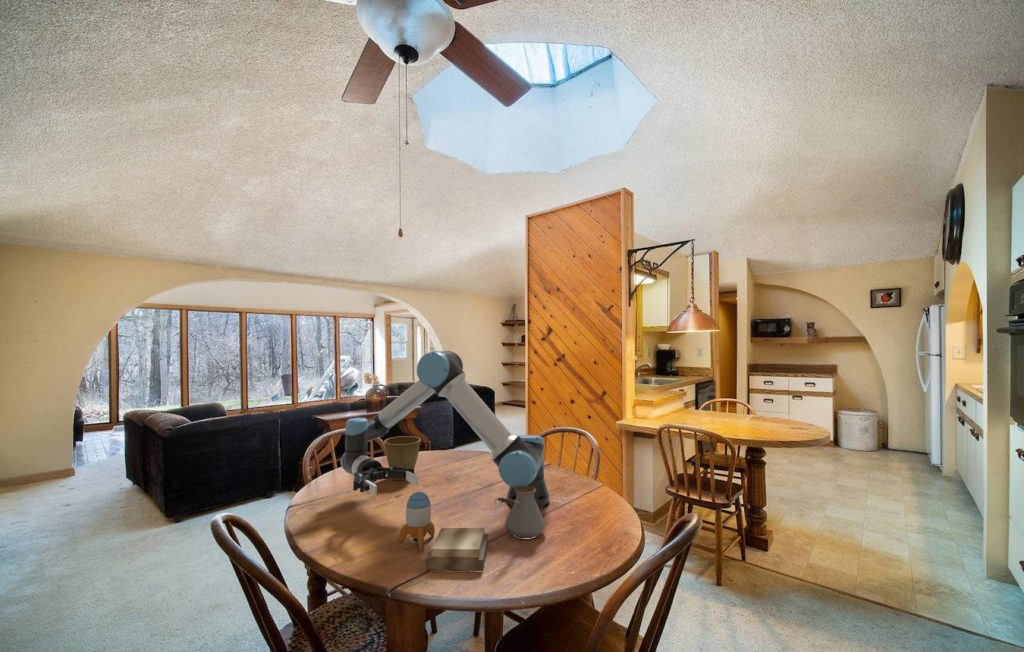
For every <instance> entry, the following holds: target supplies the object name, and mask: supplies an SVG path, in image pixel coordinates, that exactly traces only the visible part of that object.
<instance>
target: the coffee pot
mask: <svg viewBox="0 0 1024 652" xmlns="http://www.w3.org/2000/svg"><path fill="white" fill-rule="evenodd" d="M514 491H515V492H516V495H517V497H516V500H515V501H514V500H511V499H508V498H507V497H505V498H504V497H498V498H496V499H494V501H493V503H494V505H495V506H496V507H500V506H501V505H502V504H503V503H505V504H508V503H511V504H514V505H513V506H511V510H510V512H509V515H508V517H507V520H506V522H505V523H506V524H505V525H506V529H507V530H508V531H509V533H510V534H511V535H512V536H513V535H515V536H516V537H519V538H532V537H535V536H537V535H538V536H539V535H540V534H541V533H542V532H543V531H544V529H545V527H546V523H545V522H546V521H545V520H544V517H543V515H542V513H541V511H540V508H538V505H537V503H536V500H535V498H534V493H535V492H536V489H535V488H534V487H531V486H519V487H515V489H514ZM496 501H499V502H500V504H498V505H497V504H496ZM538 536H537V537H538ZM516 537H515V538H516Z"/></svg>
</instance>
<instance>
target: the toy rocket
mask: <svg viewBox="0 0 1024 652" xmlns="http://www.w3.org/2000/svg"><path fill="white" fill-rule="evenodd" d="M431 507H432V506H431V501H430V497H429V496H428V495H427V494H426V493H425V492H423V491H415V492H413V493H412V494H411V495H410V496H409V498H408V500H407V504H406V506H405V522H406V523H405V524H403V526H401V528H400V529H399V531H398V541H399V543H400V544H401V543H403V542H404V540H405V539H406V537H408V535H409V536H410V537H411V538H412V540H413V542H415V543H418V549H419V552H420V553H423V552H424V549H425V536H427V533H428V535H430V537H431V538H433V537H434V536H435V534H436V533H435V532H436V531H435V530H436V529H435V524H434V523H433V522H432V521H431V519H432V517H431V515H432V509H431Z"/></svg>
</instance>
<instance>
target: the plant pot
mask: <svg viewBox="0 0 1024 652" xmlns="http://www.w3.org/2000/svg"><path fill="white" fill-rule="evenodd" d="M383 443H384V451H385V456H386V461H387V465H388V468H390V466H391V465H393V466H396V467H404V468H412V469H414V470H415V467H416V463H417V461H418V460H417V459H418V456H419V452H420V446H421V438H420V437H417V436H411V435H410V436H407V435H406V436H404V435H403V436H393V437H389V438H386V439H385V440H384V442H383ZM392 480H394V481H396V480H404V481H407V480H406V479H402V478H392Z"/></svg>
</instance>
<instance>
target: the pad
mask: <svg viewBox="0 0 1024 652" xmlns="http://www.w3.org/2000/svg"><path fill="white" fill-rule="evenodd" d="M488 549H489V533H485V528H484V527H483V528H482V527H441V528H440V530H439V532H438V533H437V536H436V538H435V540H434V542H433V544H432V546H431V548H430V550H429V552H428V554H427V556H426V558H425V571H461V572H460V573H471V572H470V571H473V572H472V573H475V572H474V571H483V572H484V569H485V564H484V563H486V559H485V558H487V554H488ZM483 568H484V569H483ZM462 571H464V572H462ZM465 571H467V572H465Z"/></svg>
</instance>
